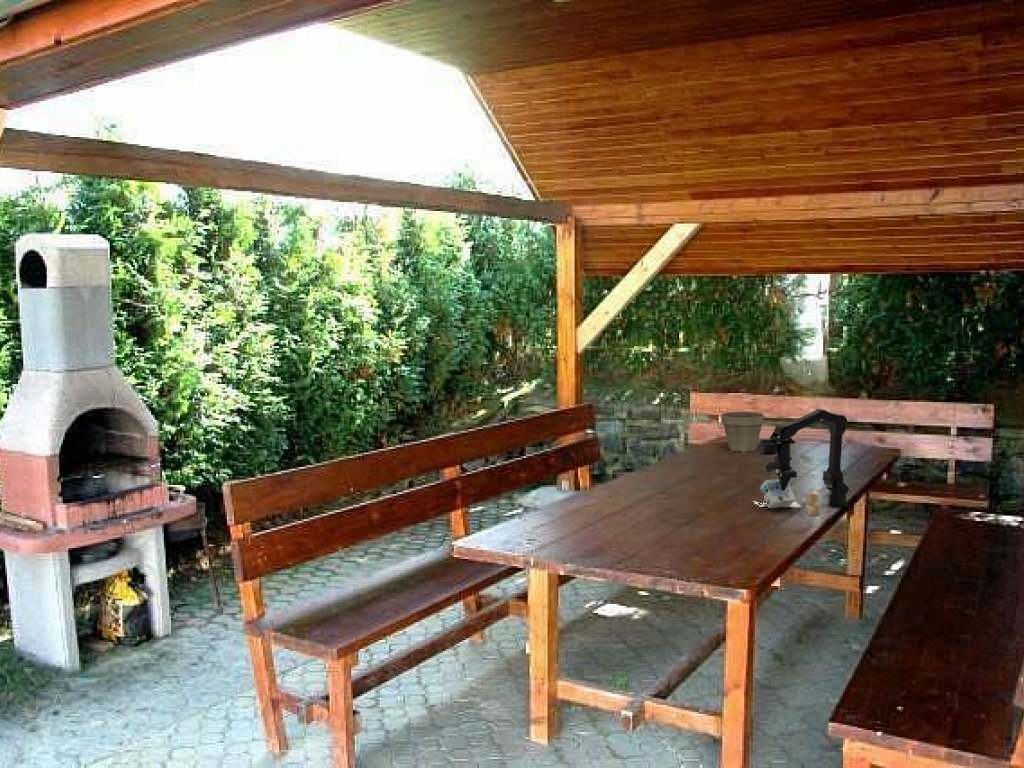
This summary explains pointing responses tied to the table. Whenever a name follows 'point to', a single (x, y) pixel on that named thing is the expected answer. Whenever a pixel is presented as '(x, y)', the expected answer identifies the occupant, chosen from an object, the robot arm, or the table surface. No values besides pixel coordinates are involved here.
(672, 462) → the table surface
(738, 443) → the plant pot
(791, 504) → the white flat board
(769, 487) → the light bulb box
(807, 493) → the oak block
